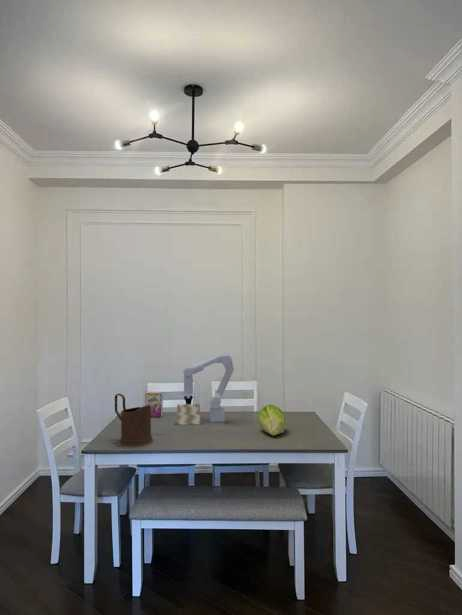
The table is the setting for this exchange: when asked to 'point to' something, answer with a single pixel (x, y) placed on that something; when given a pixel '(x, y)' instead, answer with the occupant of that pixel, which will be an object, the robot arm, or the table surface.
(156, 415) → the candy bar box
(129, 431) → the brown metal pitcher
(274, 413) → the lettuce
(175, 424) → the grey long block
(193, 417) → the flip panel
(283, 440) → the table surface
